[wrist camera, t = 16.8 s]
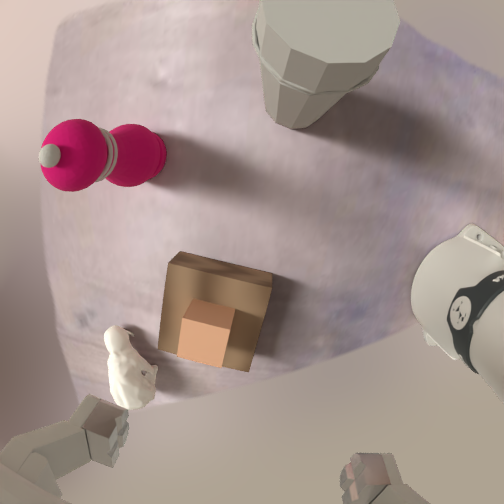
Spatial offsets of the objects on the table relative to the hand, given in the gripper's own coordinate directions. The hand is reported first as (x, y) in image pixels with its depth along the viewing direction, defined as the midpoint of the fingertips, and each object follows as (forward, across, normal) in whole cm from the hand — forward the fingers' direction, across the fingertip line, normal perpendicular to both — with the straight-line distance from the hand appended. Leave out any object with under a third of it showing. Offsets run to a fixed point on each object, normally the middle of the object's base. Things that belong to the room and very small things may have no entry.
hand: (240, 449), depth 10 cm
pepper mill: (+31, +17, -7) cm, 36 cm away
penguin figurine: (+31, +15, +22) cm, 41 cm away
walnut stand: (+31, +4, +10) cm, 33 cm away
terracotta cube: (+26, +4, +10) cm, 28 cm away
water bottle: (+31, 0, -18) cm, 36 cm away
